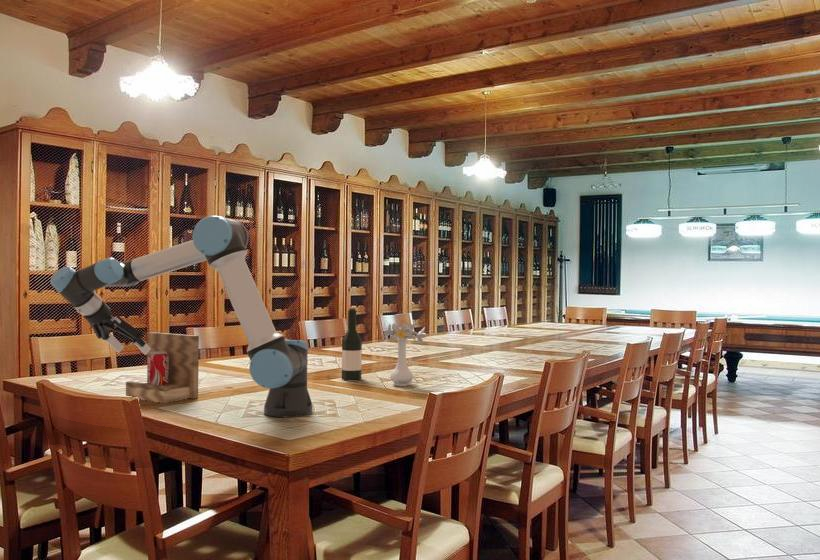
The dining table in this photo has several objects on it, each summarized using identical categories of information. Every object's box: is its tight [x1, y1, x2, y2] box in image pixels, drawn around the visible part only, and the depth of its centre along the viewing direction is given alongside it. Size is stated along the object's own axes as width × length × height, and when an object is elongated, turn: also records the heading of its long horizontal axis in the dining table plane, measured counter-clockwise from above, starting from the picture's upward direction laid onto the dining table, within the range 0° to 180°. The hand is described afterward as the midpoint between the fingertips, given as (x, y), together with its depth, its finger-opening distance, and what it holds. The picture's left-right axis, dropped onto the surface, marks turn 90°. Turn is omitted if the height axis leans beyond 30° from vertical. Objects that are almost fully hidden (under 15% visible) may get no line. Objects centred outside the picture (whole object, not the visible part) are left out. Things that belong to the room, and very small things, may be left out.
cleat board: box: [125, 331, 200, 404], centre depth 224 cm, size 24×12×22 cm, turn 61°
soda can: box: [146, 351, 169, 386], centre depth 224 cm, size 7×7×12 cm
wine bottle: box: [341, 307, 363, 381], centre depth 269 cm, size 8×8×30 cm
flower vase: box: [381, 322, 427, 387], centre depth 257 cm, size 13×18×25 cm
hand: (134, 350), depth 214 cm, fingers open, 13 cm apart
